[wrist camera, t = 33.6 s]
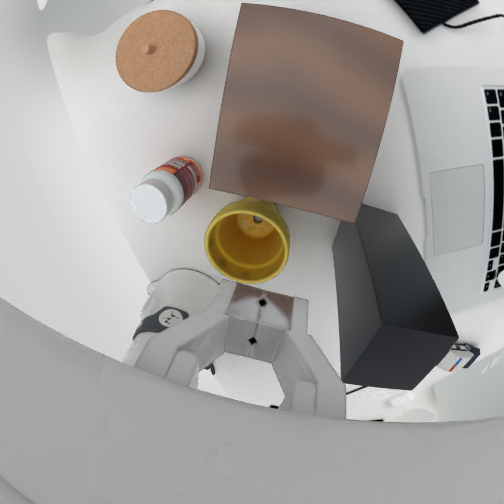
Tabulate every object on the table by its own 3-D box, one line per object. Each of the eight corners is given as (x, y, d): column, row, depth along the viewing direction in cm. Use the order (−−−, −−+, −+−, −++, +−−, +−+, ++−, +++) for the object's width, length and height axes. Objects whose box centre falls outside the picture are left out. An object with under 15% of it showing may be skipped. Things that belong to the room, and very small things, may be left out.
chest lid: (353, 220, 26) (354, 224, 25) (211, 186, 26) (208, 188, 26) (400, 42, 17) (403, 40, 16) (243, 5, 17) (241, 2, 17)
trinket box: (151, 97, 35) (114, 103, 28) (141, 34, 30) (103, 27, 22) (221, 81, 33) (196, 79, 25) (210, 12, 28) (183, -6, 20)
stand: (378, 259, 43) (411, 390, 23) (332, 246, 43) (340, 383, 23) (397, 214, 38) (459, 337, 18) (348, 199, 39) (382, 324, 19)
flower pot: (292, 183, 39) (288, 211, 31) (293, 247, 44) (288, 287, 36) (220, 183, 41) (197, 210, 33) (227, 245, 46) (209, 282, 38)
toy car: (429, 337, 49) (435, 355, 45) (477, 344, 48) (483, 360, 44) (417, 353, 52) (422, 371, 48) (465, 358, 51) (471, 374, 47)
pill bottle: (194, 149, 39) (157, 171, 29) (209, 187, 42) (179, 220, 32) (159, 163, 41) (118, 188, 31) (175, 198, 44) (139, 232, 34)
